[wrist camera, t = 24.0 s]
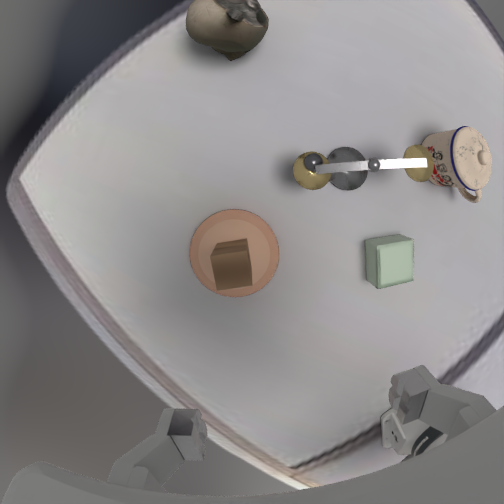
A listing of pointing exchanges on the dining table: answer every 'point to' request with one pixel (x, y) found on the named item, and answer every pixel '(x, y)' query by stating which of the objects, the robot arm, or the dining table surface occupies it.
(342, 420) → the dining table surface
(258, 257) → the saucer
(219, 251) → the block
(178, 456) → the robot arm
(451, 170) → the teacup with lid
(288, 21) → the dining table surface
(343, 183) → the balance
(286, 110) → the dining table surface
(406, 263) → the cover
